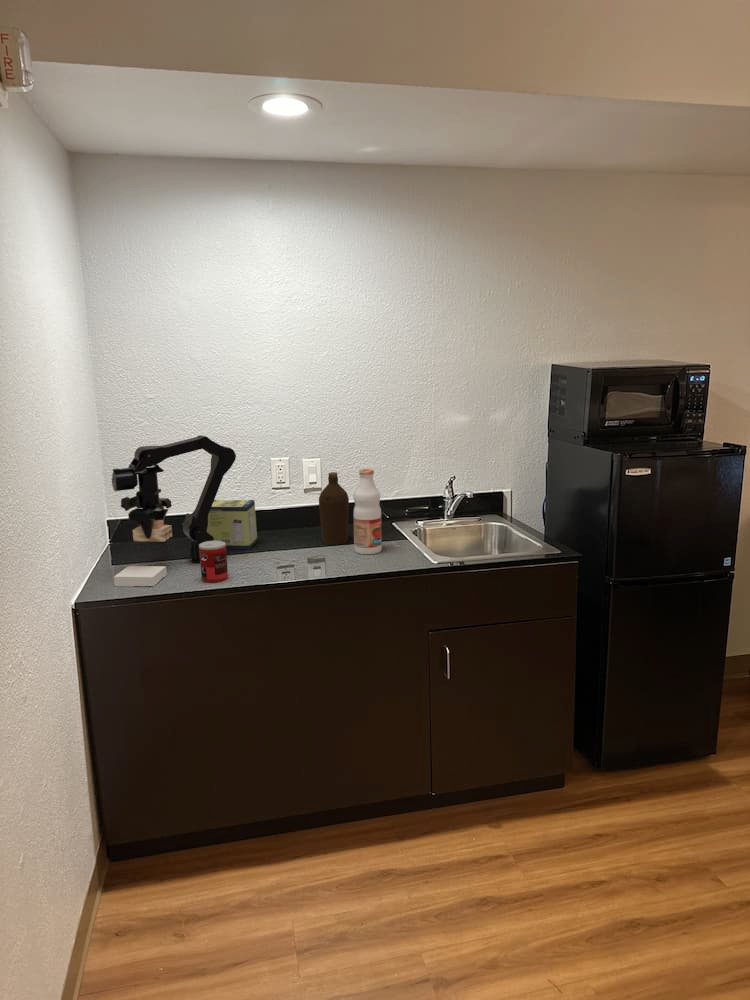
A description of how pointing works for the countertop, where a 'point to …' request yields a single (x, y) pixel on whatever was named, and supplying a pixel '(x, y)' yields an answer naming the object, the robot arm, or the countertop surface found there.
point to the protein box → (233, 523)
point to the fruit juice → (367, 515)
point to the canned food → (213, 561)
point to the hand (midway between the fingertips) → (153, 535)
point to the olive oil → (334, 512)
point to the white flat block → (140, 576)
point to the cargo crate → (157, 524)
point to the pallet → (153, 534)
